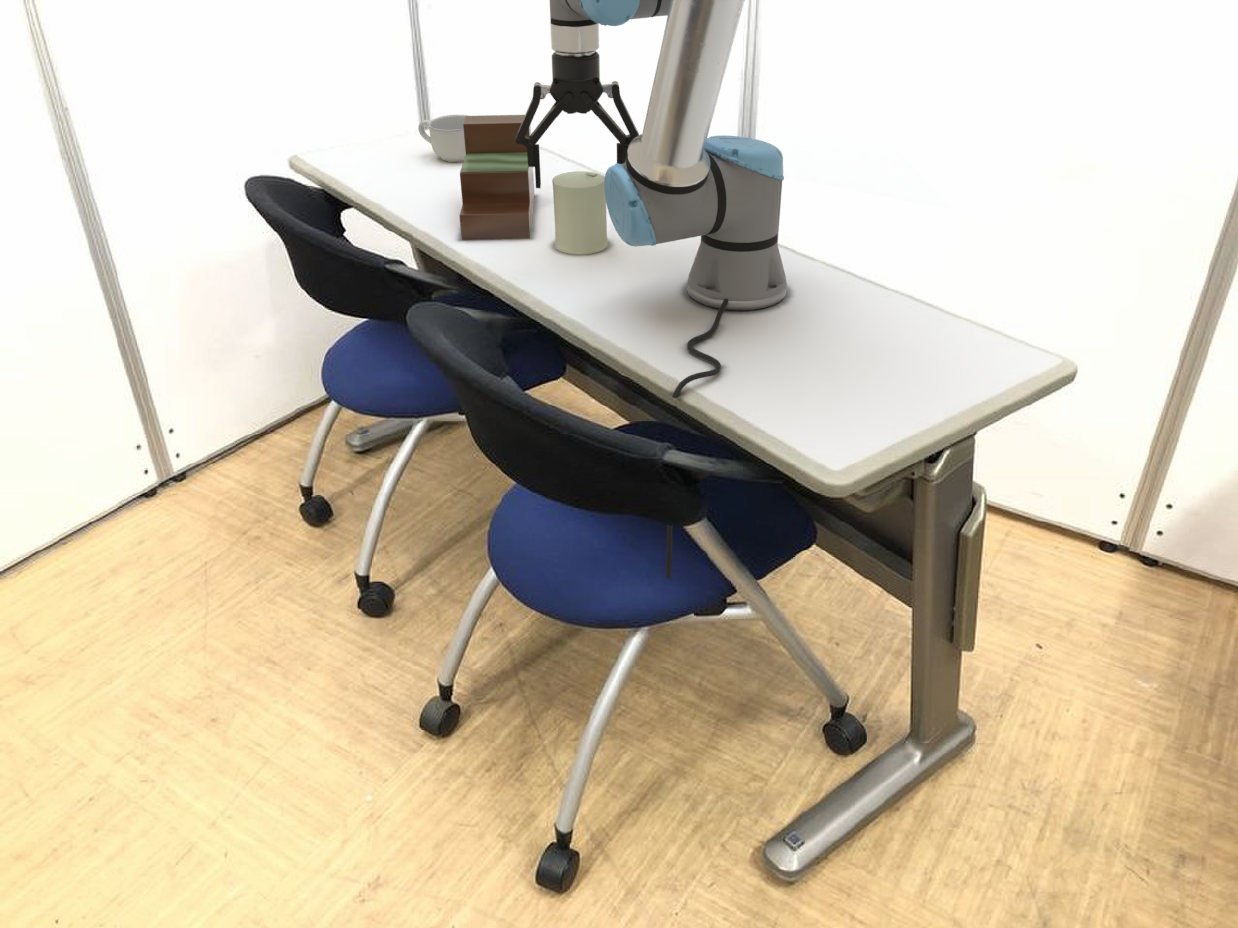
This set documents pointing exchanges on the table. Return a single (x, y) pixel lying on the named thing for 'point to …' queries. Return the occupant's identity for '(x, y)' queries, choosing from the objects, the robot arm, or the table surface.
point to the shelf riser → (495, 180)
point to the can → (580, 212)
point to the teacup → (446, 136)
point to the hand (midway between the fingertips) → (578, 185)
